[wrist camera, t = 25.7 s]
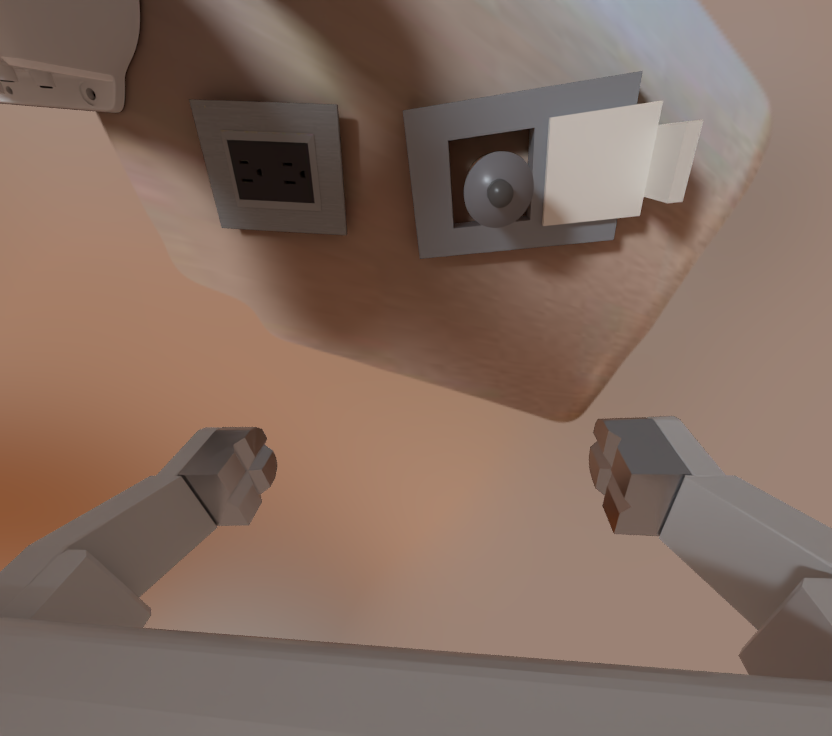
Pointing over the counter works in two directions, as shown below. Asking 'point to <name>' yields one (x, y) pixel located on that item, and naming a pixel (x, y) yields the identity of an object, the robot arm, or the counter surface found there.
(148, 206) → the counter surface
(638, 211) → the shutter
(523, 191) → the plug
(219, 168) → the electrical outlet
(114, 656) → the robot arm
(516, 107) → the socket block
